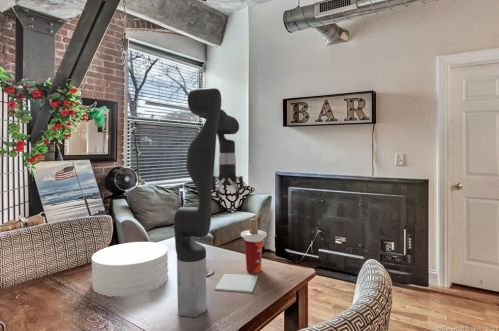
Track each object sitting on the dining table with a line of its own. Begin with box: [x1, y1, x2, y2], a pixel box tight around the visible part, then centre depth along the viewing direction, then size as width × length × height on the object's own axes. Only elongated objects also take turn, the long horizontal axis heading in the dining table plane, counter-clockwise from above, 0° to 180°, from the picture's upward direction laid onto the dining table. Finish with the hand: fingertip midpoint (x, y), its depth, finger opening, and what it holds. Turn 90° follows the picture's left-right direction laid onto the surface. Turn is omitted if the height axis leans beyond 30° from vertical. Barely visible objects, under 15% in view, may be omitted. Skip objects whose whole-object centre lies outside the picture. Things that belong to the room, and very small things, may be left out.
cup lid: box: [240, 217, 268, 239], centre depth 135 cm, size 11×11×7 cm
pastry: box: [206, 265, 215, 277], centre depth 134 cm, size 12×12×5 cm
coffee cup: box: [243, 238, 264, 274], centre depth 136 cm, size 8×8×15 cm
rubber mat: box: [214, 273, 259, 294], centre depth 123 cm, size 14×14×1 cm
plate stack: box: [91, 241, 169, 298], centre depth 126 cm, size 28×28×12 cm
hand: (227, 198), depth 145 cm, fingers open, 8 cm apart
